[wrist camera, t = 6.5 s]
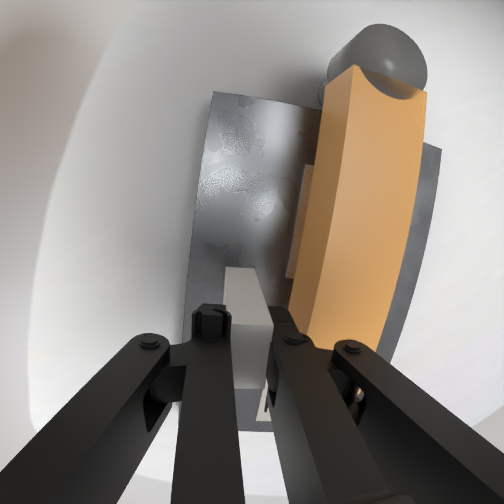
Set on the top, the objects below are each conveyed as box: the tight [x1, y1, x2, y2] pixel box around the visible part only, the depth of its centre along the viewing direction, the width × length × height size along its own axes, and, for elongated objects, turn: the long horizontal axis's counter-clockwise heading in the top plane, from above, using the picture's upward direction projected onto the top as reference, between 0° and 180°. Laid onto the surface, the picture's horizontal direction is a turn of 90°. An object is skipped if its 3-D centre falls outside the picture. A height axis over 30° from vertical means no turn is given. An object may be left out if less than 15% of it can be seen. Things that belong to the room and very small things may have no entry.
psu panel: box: [178, 92, 442, 432], centre depth 21 cm, size 24×16×3 cm, turn 171°
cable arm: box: [288, 24, 427, 394], centre depth 15 cm, size 19×4×4 cm, turn 171°
